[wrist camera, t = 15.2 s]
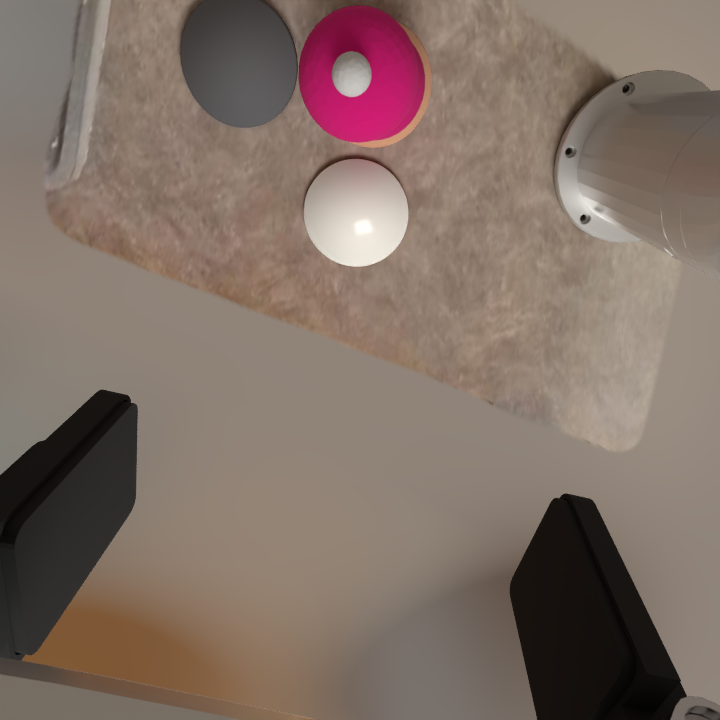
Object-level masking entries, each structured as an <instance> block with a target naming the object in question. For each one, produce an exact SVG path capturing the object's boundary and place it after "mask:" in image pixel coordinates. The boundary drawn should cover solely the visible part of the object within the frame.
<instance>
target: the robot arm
mask: <svg viewBox="0 0 720 720" xmlns="http://www.w3.org/2000/svg"><path fill="white" fill-rule="evenodd" d="M623 86H627V91H626V92H625V93H623V92H622V90H623ZM567 148H570V149H571V152H570V153H569V154H567V155H566V153H565V151H566V149H567ZM554 185H555V189H556V194H557V198H558V201H559V203H560V205H561V207H562V209H563V211H564V213H565V214H566V215H567V217H568V218H569V219H570V220H571V222H572V223H573V224H575V225H576V226H577V227H578V228H580V229H581V230H582V231H584V232H585V233H587V234H589V235H590V236H592V237H595V238H598V239H600V240H603V241H607V242H614V243H635V242H639V241H644V242H646V243H648V244H650V245H652V246H654V247H655V248H657V249H659V250H661V251H663V252H665V253H666V254H668V255H670V256H672V257H674V258H676V259H677V260H679V261H681V262H683V263H685V264H687V265H689V266H690V267H692V268H694V269H696V270H698V271H700V272H702V273H704V274H706V275H708V276H710V277H713V278H715V279H718V280H720V91H710V90H709V89H708V88H707V87H706V86H705V85H704V84H703V83H702V82H700V81H698V80H696V79H695V78H693V77H691V76H689V75H686V74H682V73H679V72H675V71H662V70H655V71H647V72H641V73H637V74H634V75H630V76H626V77H624V78H622V79H620V80H617V81H615V82H613V83H611V84H609V85H608V86H606V87H605V88H603V89H602V90H600V91H599V92H598V93H596V94H595V95H594V96H593V97H592V98H590V99H589V100H588V101H587V102H586V103H585V104H584V105H583V106H582V107H581V108H580V110H579V111H578V112H577V114H576V115H575V116H574V118H573V119H572V120H571V122H570V123H569V125H568V127H567V129H566V131H565V133H564V135H563V136H562V139H561V142H560V145H559V148H558V151H557V153H556V160H555V166H554ZM583 214H584V215H585V217H584V219H583V220H580V217H581V215H583ZM137 414H138V410H137V405H136V404H134V403H131V399H130V397H129V396H128V395H124V394H120V393H115V392H111V391H107V390H99V391H98V392H97V393H95V394H94V395H93V396H92V397H91V398H90V399H89V400H88V401H87V402H86V403H85V404H84V405H83V406H81V408H79V409H78V410H77V411H76V412H75V413H74V414H73V415H72V416H71V417H70V418H69V419H68V420H66V421H65V422H64V423H63V424H62V425H61V426H60V427H59V428H58V429H57V430H56V431H54V432H53V433H52V434H51V435H50V436H49V437H48V438H47V439H46V440H44V441H40V442H38V443H36V444H35V445H33V446H32V447H31V448H30V449H29V450H28V451H26V452H25V453H24V454H23V455H22V456H21V457H20V458H19V459H18V460H17V461H16V462H14V463H13V464H12V465H11V466H10V467H9V468H8V469H7V470H6V471H5V472H4V473H2V474H1V475H0V720H318V719H313V718H308V717H303V716H298V715H293V714H288V713H284V712H279V711H274V710H269V709H264V708H260V707H255V706H250V705H245V704H240V703H236V702H231V701H226V700H221V699H216V698H211V697H206V696H201V695H196V694H191V693H186V692H181V691H176V690H171V689H166V688H161V687H156V686H151V685H146V684H141V683H137V682H132V681H127V680H122V679H117V678H112V677H107V676H102V675H97V674H91V673H85V672H80V671H75V670H69V669H64V668H58V667H53V666H48V665H42V664H36V663H31V662H25V661H21V660H22V658H23V657H24V655H25V654H27V655H32V654H34V653H35V652H36V651H37V650H38V649H39V648H40V646H41V645H42V643H43V642H44V640H45V639H46V638H47V636H48V634H49V633H50V631H51V630H52V629H53V627H54V626H55V624H56V623H57V621H58V620H59V618H60V617H61V615H62V614H63V612H64V610H65V609H66V608H67V606H68V605H69V603H70V602H71V600H72V599H73V597H74V596H75V594H76V593H77V591H78V590H79V589H80V587H81V586H82V584H83V583H84V581H85V580H86V578H87V577H88V575H89V573H90V572H91V571H92V569H93V568H94V566H95V565H96V563H97V562H98V560H99V559H100V557H101V556H102V554H103V553H104V551H105V550H106V548H107V547H108V545H109V544H110V542H111V541H112V540H113V538H114V537H115V535H116V534H117V532H118V531H119V529H120V528H121V526H122V525H123V523H124V522H125V520H126V519H127V517H128V516H129V514H130V513H131V511H132V508H133V506H134V503H135V499H136V463H137V416H138V415H137ZM510 598H511V602H512V606H513V611H514V616H515V620H516V625H517V629H518V634H519V638H520V642H521V647H522V652H523V657H524V661H525V665H526V670H527V675H528V679H529V684H530V688H531V692H532V697H533V702H534V706H535V711H536V716H537V720H720V706H719V705H718V704H716V703H714V702H712V701H709V700H707V699H704V698H701V697H694V696H688V697H687V695H686V693H685V691H684V689H683V687H682V685H681V683H680V681H681V680H680V678H679V676H678V674H677V672H676V669H675V668H674V665H673V663H672V662H671V659H670V657H669V655H668V653H667V651H666V649H665V647H664V645H663V643H662V641H661V639H660V637H659V634H658V632H657V630H656V628H655V626H654V624H653V622H652V620H651V618H650V616H649V614H648V612H647V610H646V608H645V606H644V604H643V601H642V599H641V597H640V595H639V593H638V591H637V589H636V587H635V585H634V583H633V581H632V579H631V577H630V575H629V573H628V571H627V569H626V566H625V565H624V562H623V560H622V558H621V556H620V554H619V553H618V550H617V548H616V546H615V544H614V542H613V540H612V538H611V536H610V534H609V532H608V529H607V527H606V525H605V524H604V521H603V519H602V517H601V515H600V513H599V511H598V509H597V507H596V505H595V503H594V502H593V500H591V499H589V498H584V497H579V496H575V495H571V494H563V495H562V496H561V497H560V498H554V499H553V500H552V501H551V503H550V505H549V507H548V509H547V511H546V513H545V515H544V517H543V519H542V521H541V523H540V524H539V526H538V528H537V530H536V533H535V534H534V536H533V538H532V540H531V542H530V544H529V546H528V548H527V550H526V552H525V554H524V556H523V558H522V560H521V562H520V564H519V566H518V568H517V570H516V572H515V574H514V576H513V578H512V580H511V584H510Z"/></svg>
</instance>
